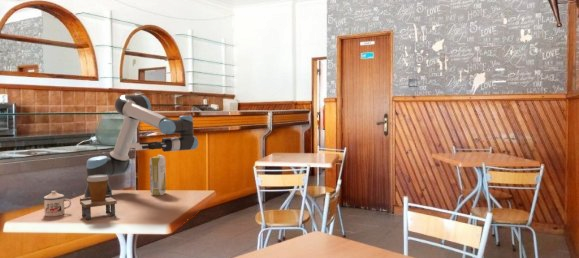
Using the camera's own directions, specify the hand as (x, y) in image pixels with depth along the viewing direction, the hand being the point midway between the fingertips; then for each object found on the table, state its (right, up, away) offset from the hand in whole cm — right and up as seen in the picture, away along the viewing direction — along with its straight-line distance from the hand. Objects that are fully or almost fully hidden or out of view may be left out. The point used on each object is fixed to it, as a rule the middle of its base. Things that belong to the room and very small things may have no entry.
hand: (130, 146), depth 226 cm
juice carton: (+3, -31, +36) cm, 47 cm away
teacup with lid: (-32, -33, -12) cm, 47 cm away
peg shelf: (-10, -33, -16) cm, 38 cm away
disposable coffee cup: (-10, -26, -16) cm, 32 cm away
